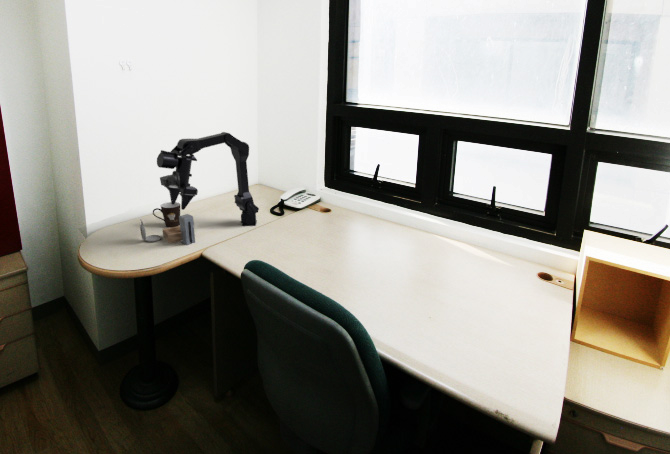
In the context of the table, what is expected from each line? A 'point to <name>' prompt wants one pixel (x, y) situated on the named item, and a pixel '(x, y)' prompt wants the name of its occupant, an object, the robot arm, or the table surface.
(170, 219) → the coffee mug
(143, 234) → the pocket watch
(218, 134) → the robot arm
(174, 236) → the open wooden box
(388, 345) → the table surface
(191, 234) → the tall gray prism
